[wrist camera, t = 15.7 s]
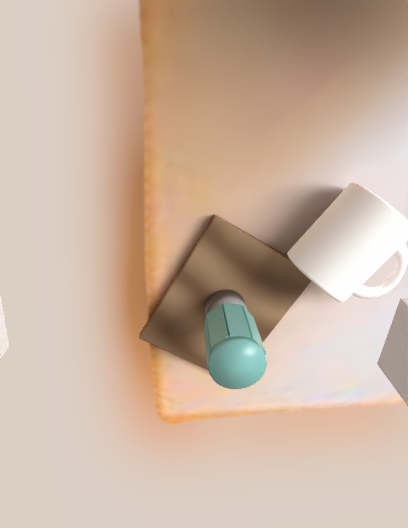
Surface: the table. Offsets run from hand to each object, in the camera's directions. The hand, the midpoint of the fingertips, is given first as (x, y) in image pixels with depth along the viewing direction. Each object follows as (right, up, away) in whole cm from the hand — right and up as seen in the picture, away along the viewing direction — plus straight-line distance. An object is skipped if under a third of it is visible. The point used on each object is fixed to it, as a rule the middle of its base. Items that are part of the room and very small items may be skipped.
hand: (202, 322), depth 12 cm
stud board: (+3, -3, +32) cm, 32 cm away
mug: (+17, +5, +30) cm, 34 cm away
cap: (+3, -5, +27) cm, 28 cm away
